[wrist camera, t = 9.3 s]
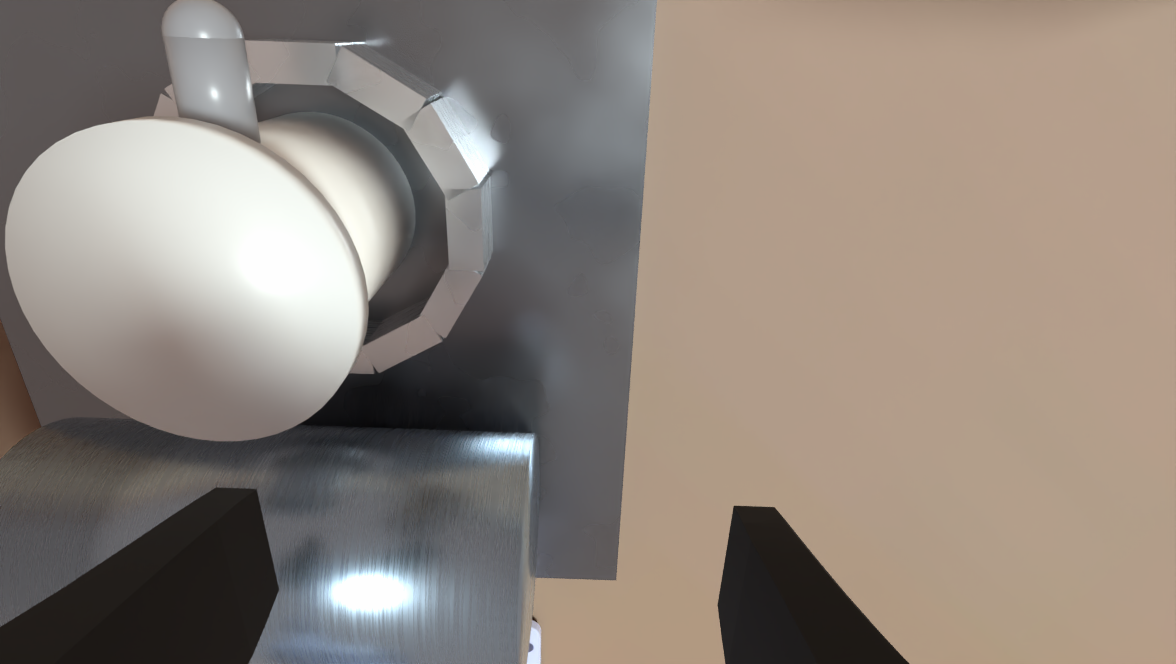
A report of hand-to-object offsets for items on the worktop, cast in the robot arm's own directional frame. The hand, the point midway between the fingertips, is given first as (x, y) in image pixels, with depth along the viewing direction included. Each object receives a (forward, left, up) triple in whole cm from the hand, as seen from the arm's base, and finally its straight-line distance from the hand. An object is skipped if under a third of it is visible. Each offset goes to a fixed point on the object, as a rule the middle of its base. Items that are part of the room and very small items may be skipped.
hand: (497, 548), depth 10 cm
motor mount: (0, +6, -9) cm, 11 cm away
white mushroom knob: (+3, +5, -8) cm, 10 cm away
